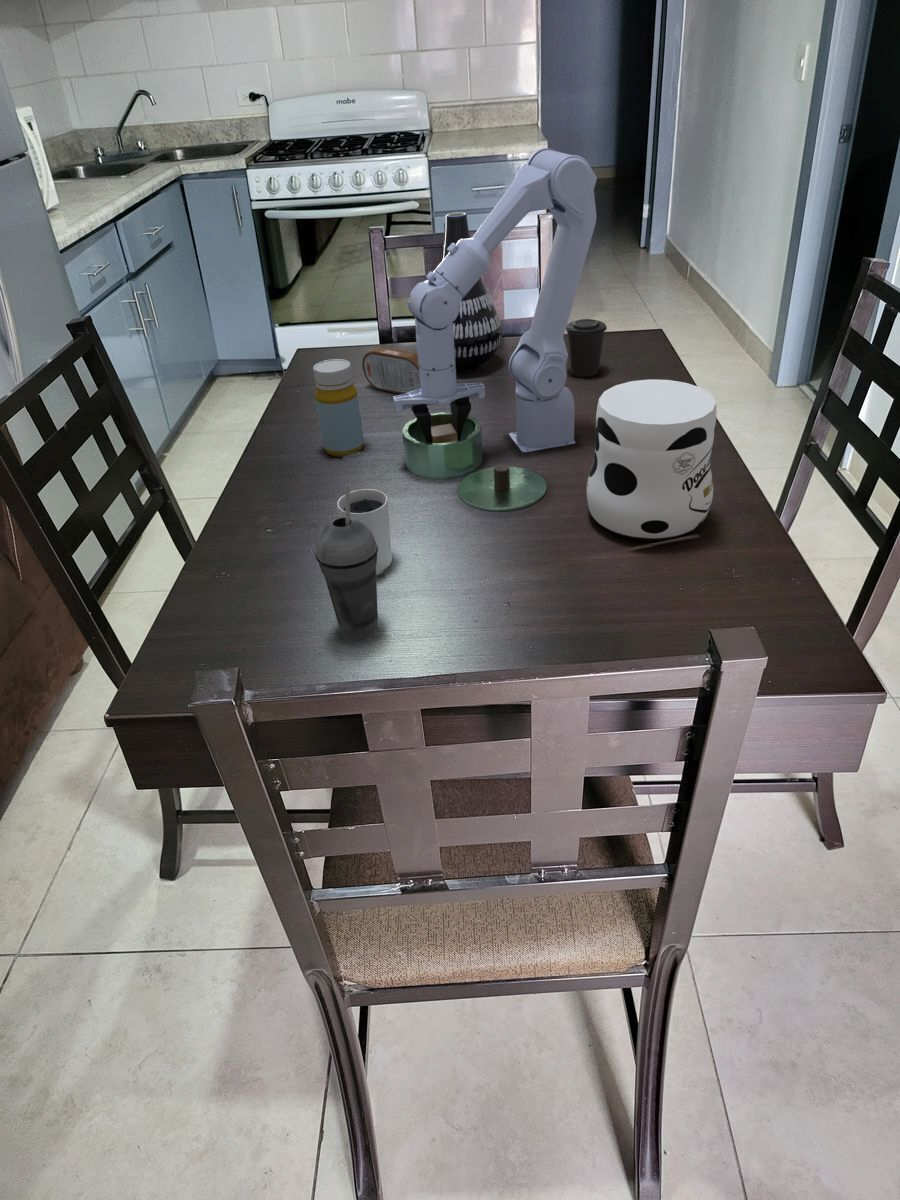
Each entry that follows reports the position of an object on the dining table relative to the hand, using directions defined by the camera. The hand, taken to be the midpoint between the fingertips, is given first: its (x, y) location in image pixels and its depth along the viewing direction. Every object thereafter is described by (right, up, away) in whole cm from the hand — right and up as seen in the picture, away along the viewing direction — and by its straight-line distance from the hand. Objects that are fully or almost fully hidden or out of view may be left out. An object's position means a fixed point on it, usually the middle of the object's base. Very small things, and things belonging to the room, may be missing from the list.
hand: (442, 444), depth 136 cm
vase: (+4, +23, +38) cm, 45 cm away
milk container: (+29, -14, -16) cm, 36 cm away
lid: (+9, -8, -8) cm, 15 cm away
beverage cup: (-10, -29, -33) cm, 45 cm away
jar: (0, -3, +2) cm, 3 cm away
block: (0, -1, +1) cm, 1 cm away
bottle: (-17, +1, +9) cm, 20 cm away
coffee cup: (+28, +20, +30) cm, 46 cm away
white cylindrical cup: (-10, -21, -21) cm, 31 cm away
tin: (-9, +16, +29) cm, 34 cm away
